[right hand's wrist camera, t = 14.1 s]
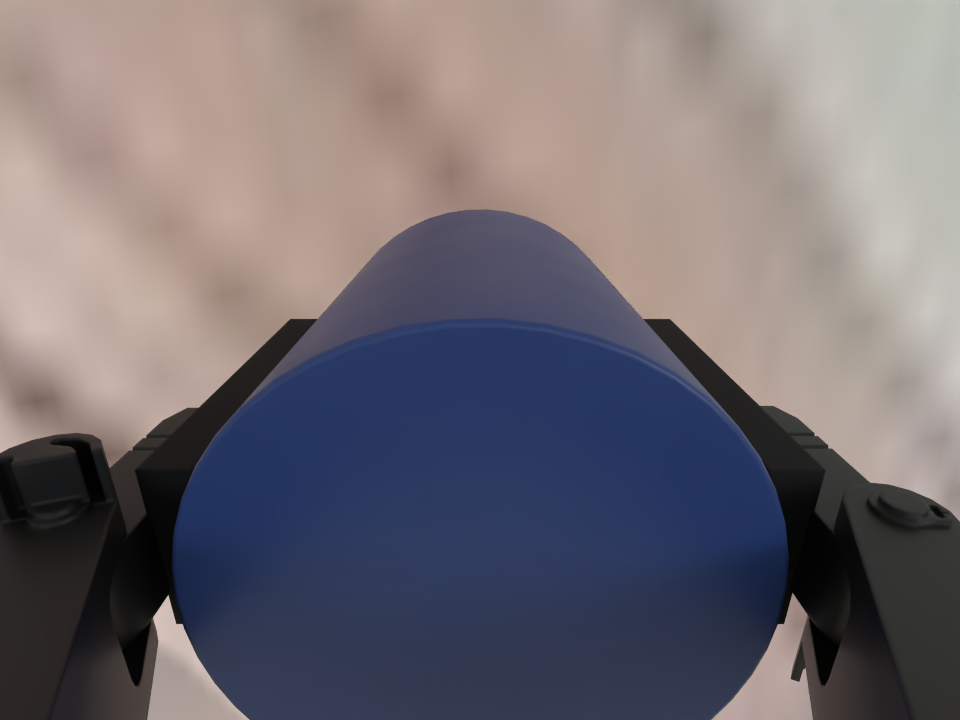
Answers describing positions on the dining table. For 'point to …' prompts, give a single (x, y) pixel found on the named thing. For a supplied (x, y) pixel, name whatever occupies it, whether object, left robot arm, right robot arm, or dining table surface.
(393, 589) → the cylinder
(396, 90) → the dining table surface
